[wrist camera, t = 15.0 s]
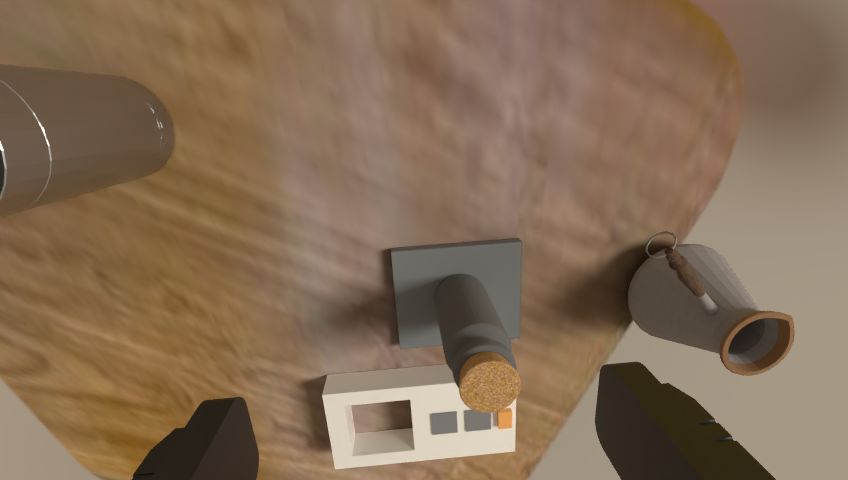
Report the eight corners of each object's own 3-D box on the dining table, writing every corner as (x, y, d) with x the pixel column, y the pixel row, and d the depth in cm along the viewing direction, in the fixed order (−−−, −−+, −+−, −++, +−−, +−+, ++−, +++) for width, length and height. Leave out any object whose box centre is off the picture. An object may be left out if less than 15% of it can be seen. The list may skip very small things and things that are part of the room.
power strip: (339, 445, 51) (334, 473, 47) (327, 374, 47) (321, 398, 44) (507, 429, 52) (516, 455, 48) (508, 358, 48) (518, 380, 44)
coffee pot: (731, 275, 47) (876, 350, 32) (655, 341, 49) (761, 438, 35) (616, 157, 41) (732, 184, 27) (538, 238, 44) (606, 302, 29)
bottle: (466, 328, 45) (498, 430, 31) (423, 304, 44) (436, 399, 30) (496, 289, 44) (544, 377, 30) (453, 263, 42) (482, 342, 28)
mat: (399, 343, 47) (400, 349, 46) (391, 248, 43) (390, 252, 42) (516, 333, 47) (519, 338, 46) (518, 238, 43) (522, 241, 42)
